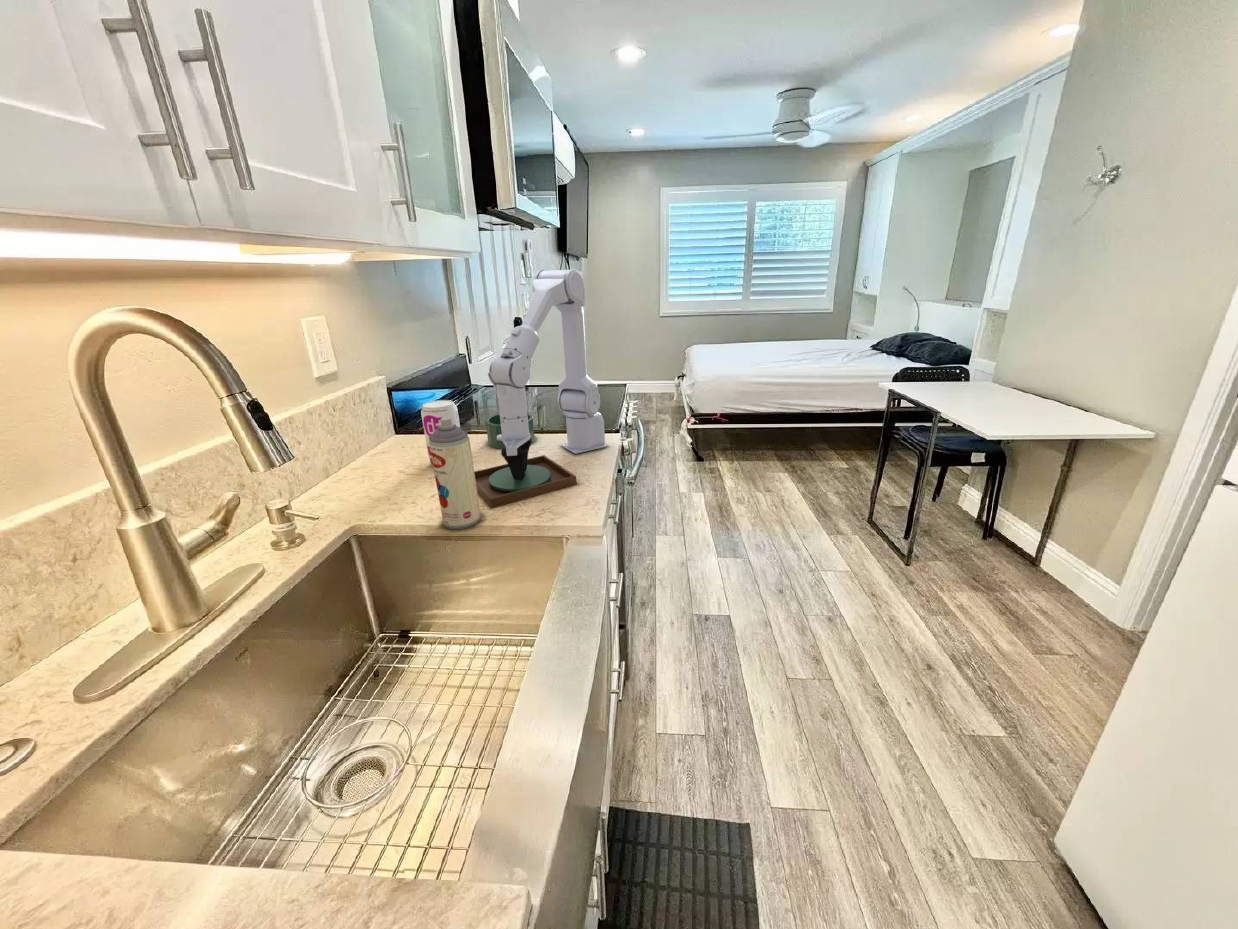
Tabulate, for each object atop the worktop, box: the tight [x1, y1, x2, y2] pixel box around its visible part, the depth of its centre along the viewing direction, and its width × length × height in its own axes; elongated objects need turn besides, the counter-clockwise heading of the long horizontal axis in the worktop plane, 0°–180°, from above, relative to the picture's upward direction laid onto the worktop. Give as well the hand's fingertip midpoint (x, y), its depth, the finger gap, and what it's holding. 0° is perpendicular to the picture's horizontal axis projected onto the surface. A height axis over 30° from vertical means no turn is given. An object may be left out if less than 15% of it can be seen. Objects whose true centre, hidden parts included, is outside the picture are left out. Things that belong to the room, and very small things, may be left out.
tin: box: [485, 412, 536, 450], centre depth 134 cm, size 12×12×6 cm
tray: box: [474, 454, 578, 508], centre depth 108 cm, size 19×16×2 cm
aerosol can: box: [429, 417, 482, 530], centre depth 89 cm, size 7×7×20 cm
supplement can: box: [420, 399, 461, 466], centre depth 118 cm, size 8×8×15 cm
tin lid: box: [489, 465, 551, 491], centre depth 107 cm, size 13×13×4 cm
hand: (520, 475), depth 108 cm, fingers open, 4 cm apart
